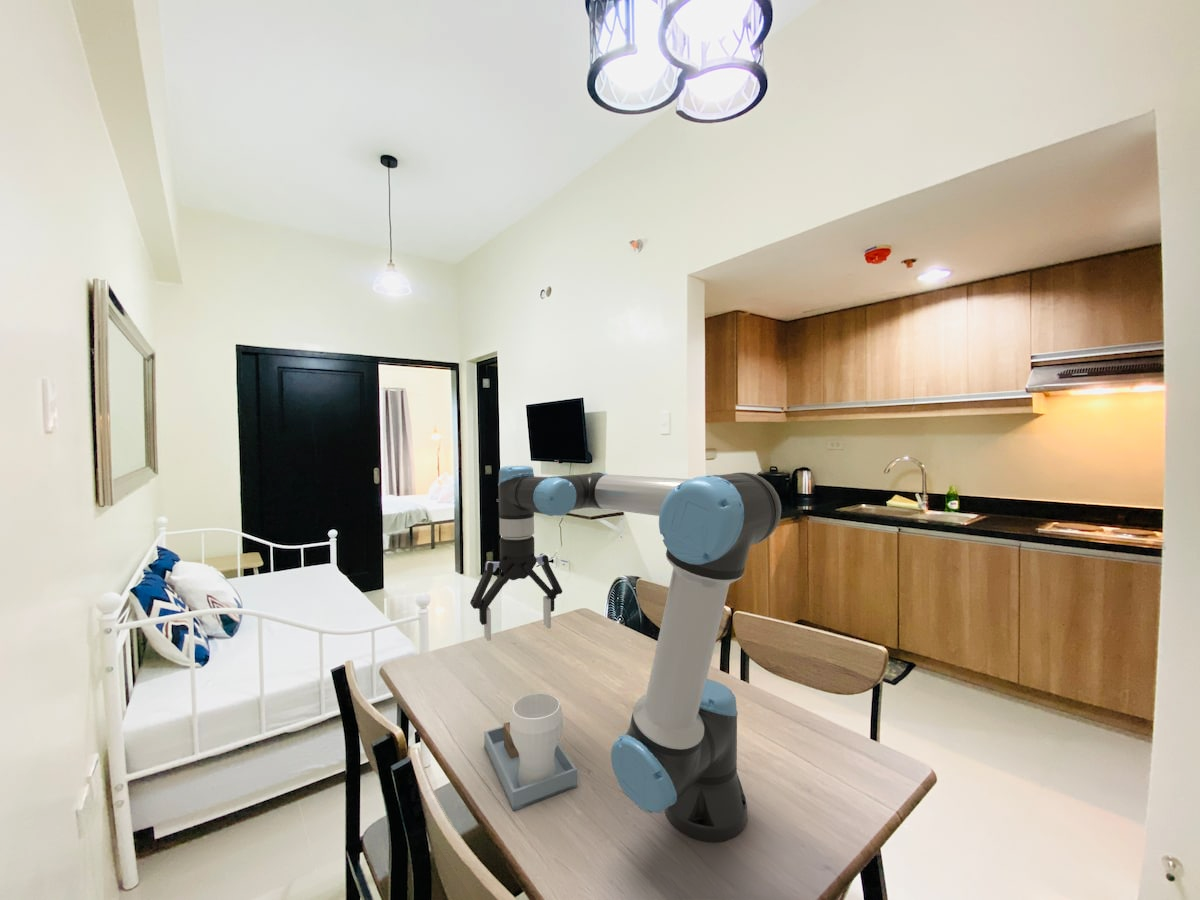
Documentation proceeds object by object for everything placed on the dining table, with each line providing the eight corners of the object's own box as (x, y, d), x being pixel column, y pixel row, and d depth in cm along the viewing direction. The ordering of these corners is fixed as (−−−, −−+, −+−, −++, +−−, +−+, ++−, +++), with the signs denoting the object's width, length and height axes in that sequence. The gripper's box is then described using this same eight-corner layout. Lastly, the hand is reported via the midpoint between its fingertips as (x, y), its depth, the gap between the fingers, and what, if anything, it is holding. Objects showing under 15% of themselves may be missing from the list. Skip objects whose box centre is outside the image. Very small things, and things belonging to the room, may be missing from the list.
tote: (577, 786, 95) (577, 769, 95) (513, 811, 89) (512, 792, 89) (539, 729, 114) (539, 715, 114) (484, 746, 108) (484, 731, 108)
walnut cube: (525, 738, 109) (525, 717, 109) (532, 751, 105) (532, 729, 105) (503, 745, 107) (503, 723, 107) (510, 758, 103) (510, 735, 103)
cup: (554, 802, 90) (553, 723, 90) (502, 794, 92) (500, 717, 92) (569, 764, 101) (568, 694, 100) (521, 758, 103) (520, 689, 103)
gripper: (562, 528, 114) (563, 616, 115) (455, 539, 103) (457, 637, 103) (575, 533, 108) (576, 626, 108) (462, 545, 96) (464, 650, 97)
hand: (518, 632), depth 106 cm, fingers open, 13 cm apart
